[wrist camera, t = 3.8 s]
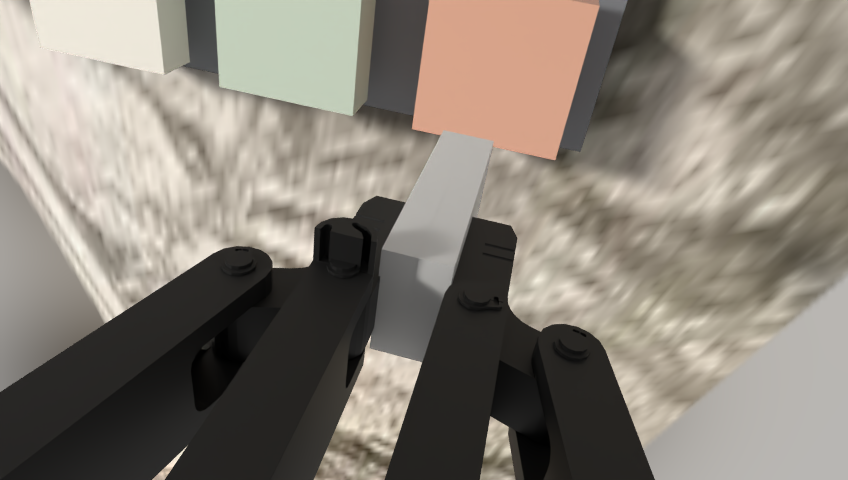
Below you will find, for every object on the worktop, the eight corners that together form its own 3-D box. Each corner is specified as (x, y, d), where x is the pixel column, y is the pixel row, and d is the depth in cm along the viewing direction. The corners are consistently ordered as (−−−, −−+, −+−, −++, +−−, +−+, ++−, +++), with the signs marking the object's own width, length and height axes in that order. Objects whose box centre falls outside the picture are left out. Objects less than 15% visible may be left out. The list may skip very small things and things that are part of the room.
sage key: (241, 73, 32) (219, 87, 30) (236, -73, 28) (210, -68, 26) (366, 100, 31) (352, 115, 29) (379, -46, 27) (364, -39, 25)
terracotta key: (422, 112, 31) (412, 129, 29) (443, -34, 27) (432, -26, 25) (556, 140, 30) (555, 160, 28) (597, -5, 26) (599, 5, 24)
